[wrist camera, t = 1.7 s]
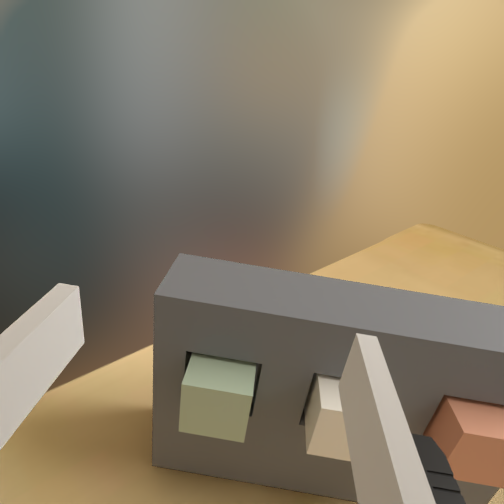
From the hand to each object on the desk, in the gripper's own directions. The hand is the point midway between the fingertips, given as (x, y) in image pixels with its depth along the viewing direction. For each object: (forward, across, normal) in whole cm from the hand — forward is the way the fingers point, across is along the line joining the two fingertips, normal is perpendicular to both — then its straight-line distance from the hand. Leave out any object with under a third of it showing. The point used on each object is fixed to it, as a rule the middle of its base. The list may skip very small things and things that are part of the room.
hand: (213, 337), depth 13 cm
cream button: (+8, +9, -13) cm, 18 cm away
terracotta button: (+8, +18, -13) cm, 24 cm away
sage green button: (+8, 0, -13) cm, 16 cm away
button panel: (+10, +9, -22) cm, 26 cm away
